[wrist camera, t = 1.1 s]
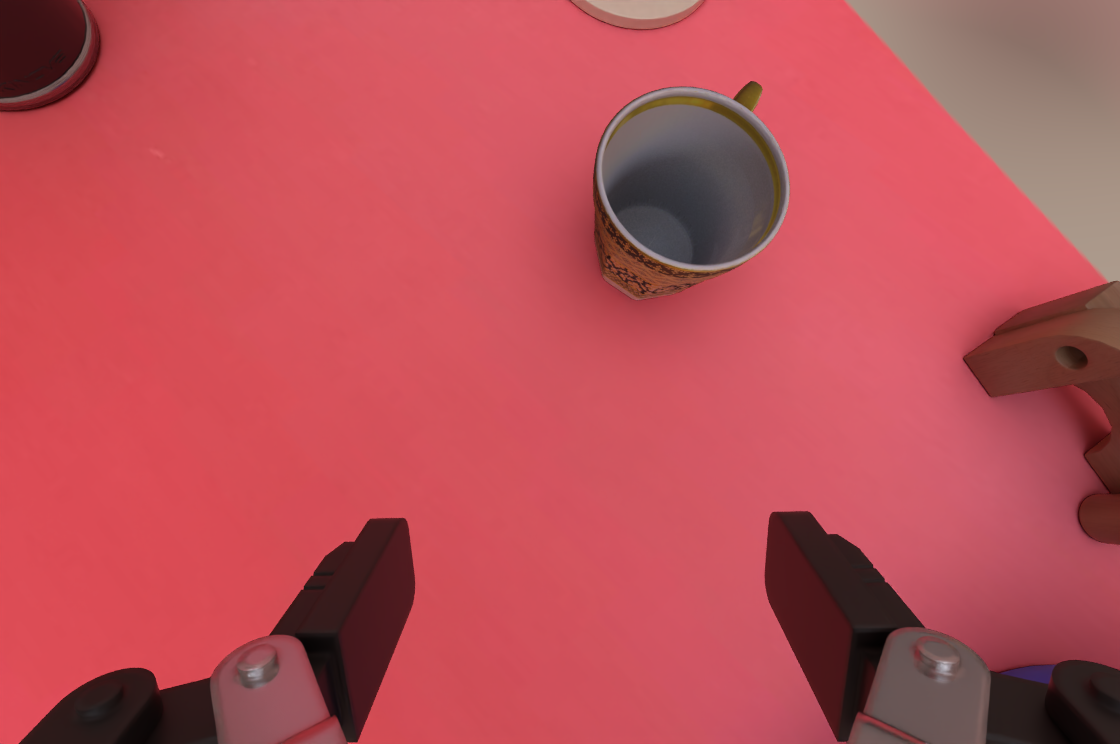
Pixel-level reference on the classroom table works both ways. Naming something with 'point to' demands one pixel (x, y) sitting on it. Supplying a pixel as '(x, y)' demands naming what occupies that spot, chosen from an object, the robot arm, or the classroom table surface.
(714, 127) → the ceramic cup
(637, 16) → the lunch plate
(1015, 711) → the robot arm
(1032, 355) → the wooden toy
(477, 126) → the classroom table surface
